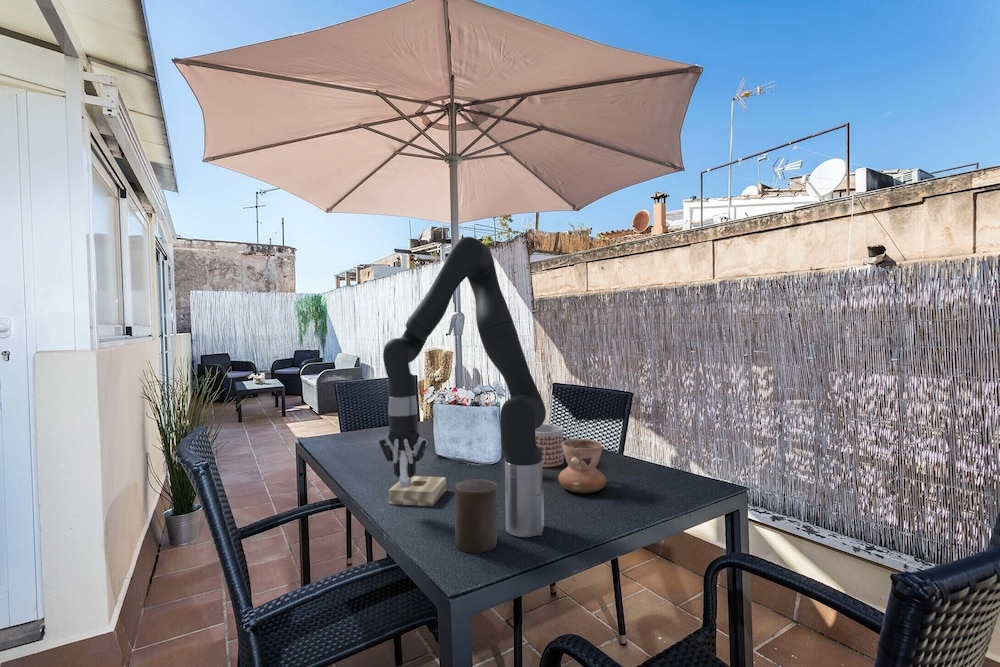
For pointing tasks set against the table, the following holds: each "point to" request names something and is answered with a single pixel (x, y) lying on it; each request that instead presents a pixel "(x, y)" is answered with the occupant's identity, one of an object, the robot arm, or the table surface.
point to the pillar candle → (476, 515)
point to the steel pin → (404, 470)
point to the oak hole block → (418, 491)
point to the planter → (550, 444)
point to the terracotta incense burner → (582, 466)
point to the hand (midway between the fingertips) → (405, 476)
